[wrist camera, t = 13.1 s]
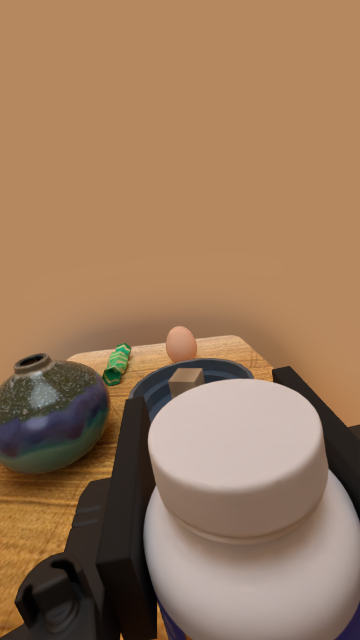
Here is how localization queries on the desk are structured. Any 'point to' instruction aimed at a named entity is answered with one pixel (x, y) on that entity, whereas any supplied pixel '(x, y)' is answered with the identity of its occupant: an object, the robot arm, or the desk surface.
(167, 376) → the bowl
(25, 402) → the vase
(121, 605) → the robot arm
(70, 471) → the desk surface
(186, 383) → the block
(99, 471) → the desk surface
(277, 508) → the pill bottle
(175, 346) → the egg
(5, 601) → the desk surface
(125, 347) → the candy
